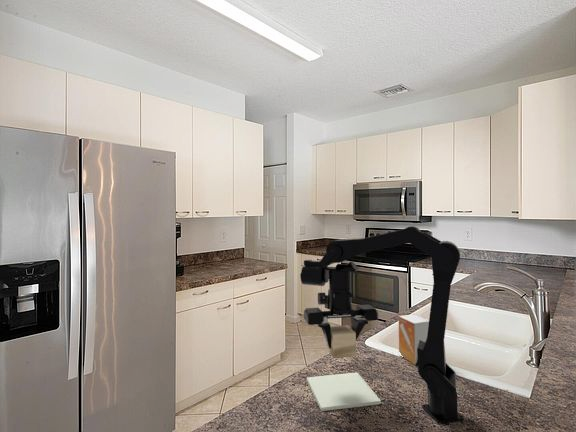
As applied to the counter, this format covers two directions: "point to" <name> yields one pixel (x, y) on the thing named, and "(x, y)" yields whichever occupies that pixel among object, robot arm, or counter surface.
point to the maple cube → (342, 342)
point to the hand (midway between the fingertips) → (341, 346)
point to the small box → (411, 335)
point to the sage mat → (342, 391)
